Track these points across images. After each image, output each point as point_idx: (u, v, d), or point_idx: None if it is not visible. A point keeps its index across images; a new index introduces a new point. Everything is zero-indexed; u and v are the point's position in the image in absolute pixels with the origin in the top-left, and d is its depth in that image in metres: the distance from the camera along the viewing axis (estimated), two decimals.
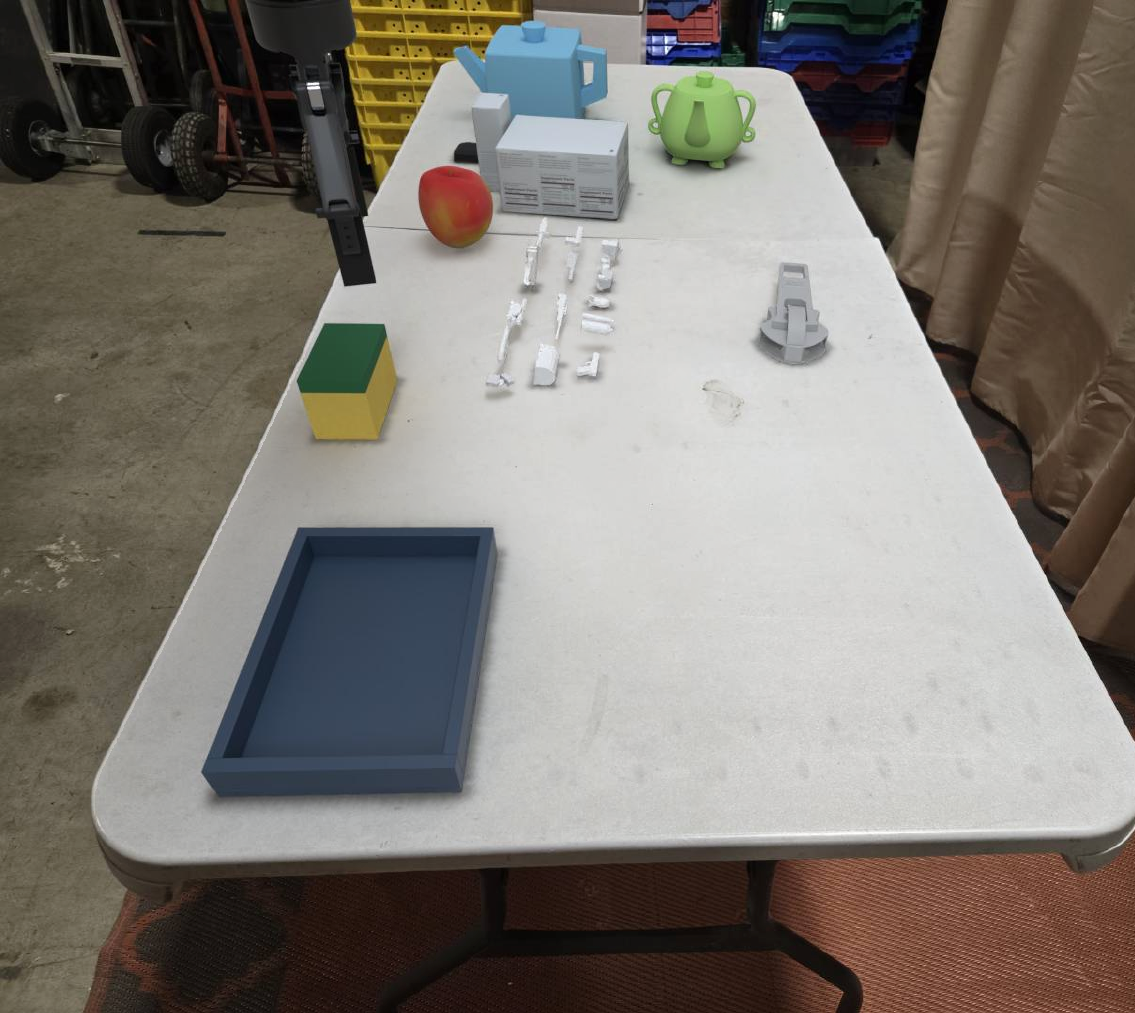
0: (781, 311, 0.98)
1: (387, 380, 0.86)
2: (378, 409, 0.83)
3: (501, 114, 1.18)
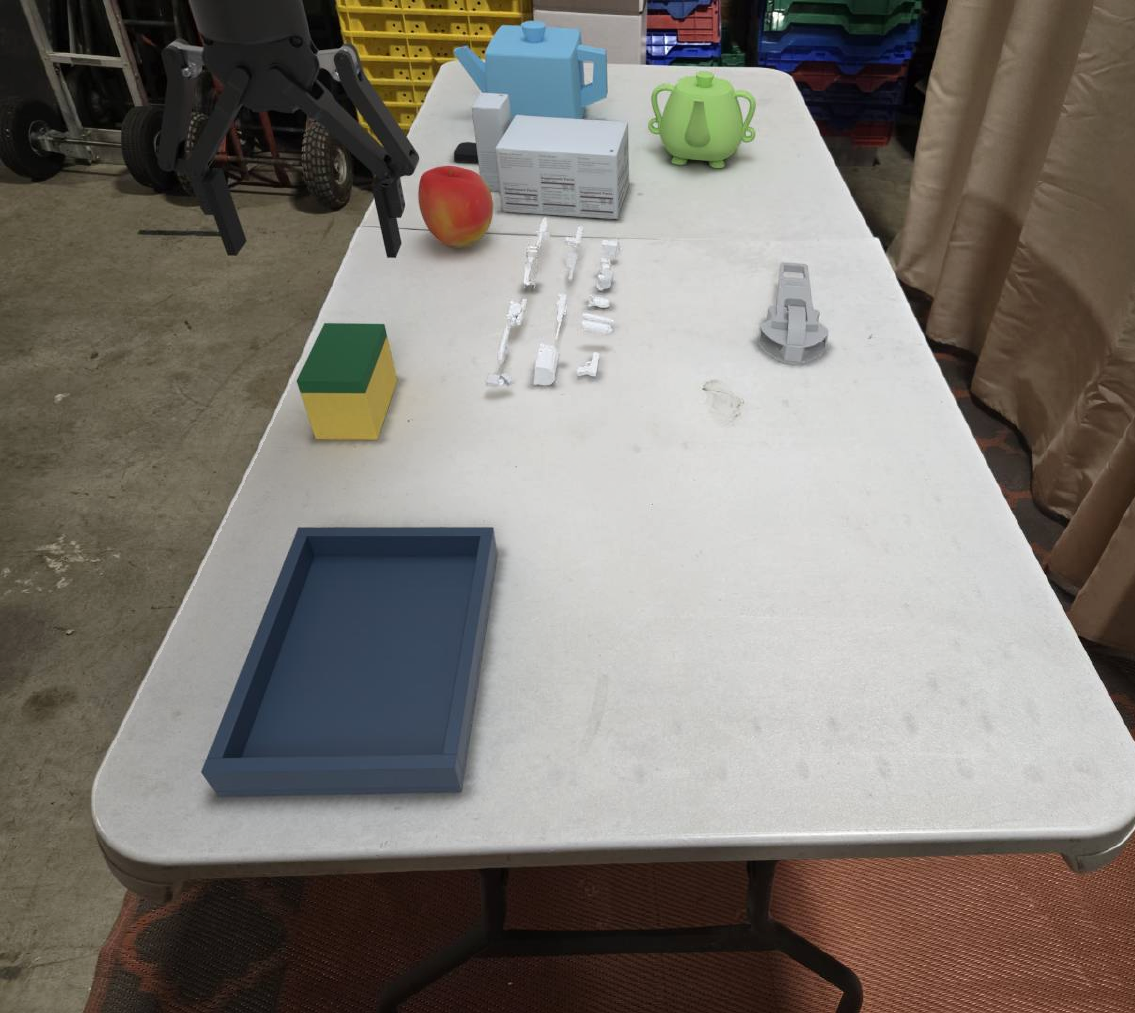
0: (781, 311, 0.98)
1: (387, 380, 0.86)
2: (378, 409, 0.83)
3: (501, 114, 1.18)
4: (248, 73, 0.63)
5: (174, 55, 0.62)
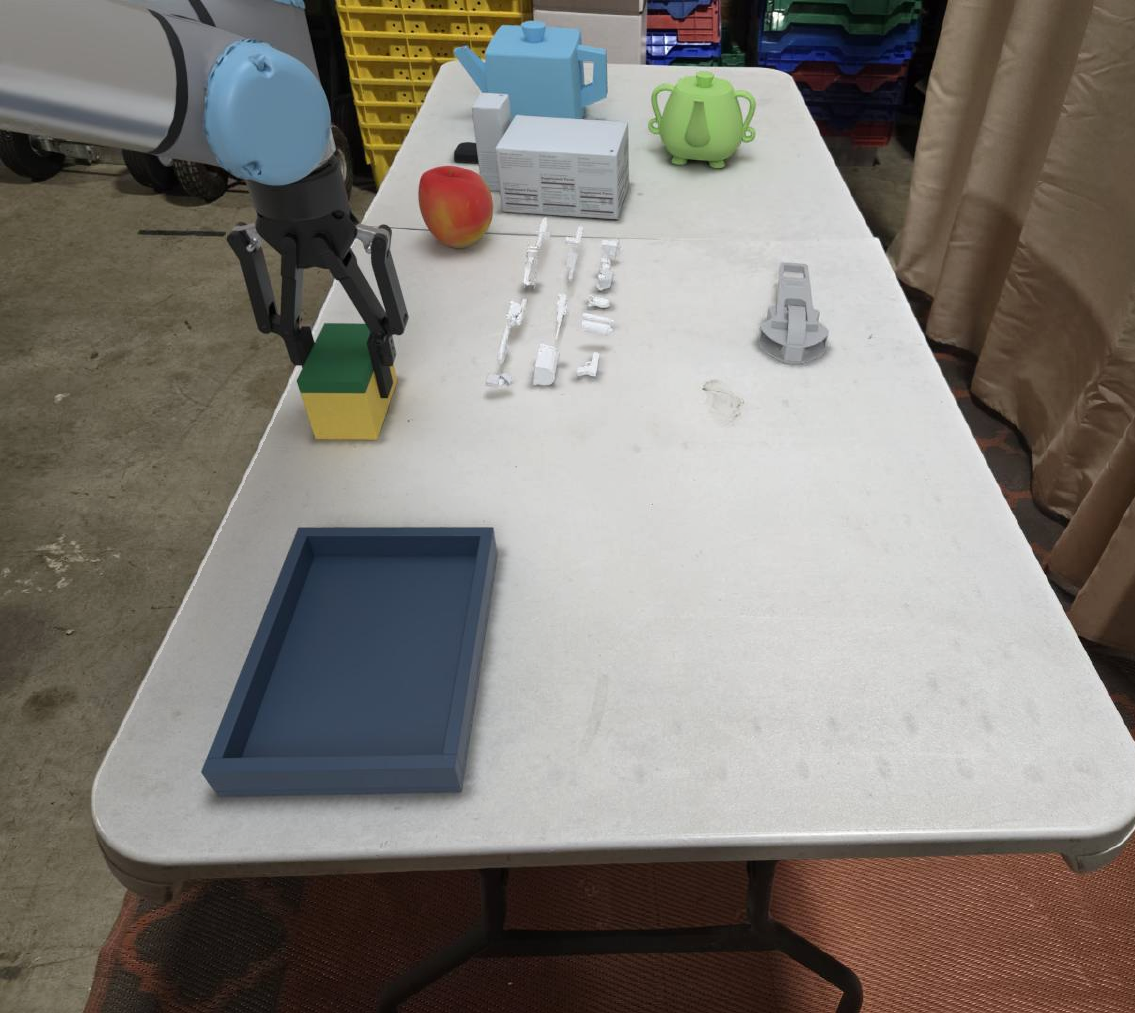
0: (781, 311, 0.98)
1: None
2: (378, 409, 0.83)
3: (501, 114, 1.18)
4: (293, 238, 0.72)
5: (236, 238, 0.72)
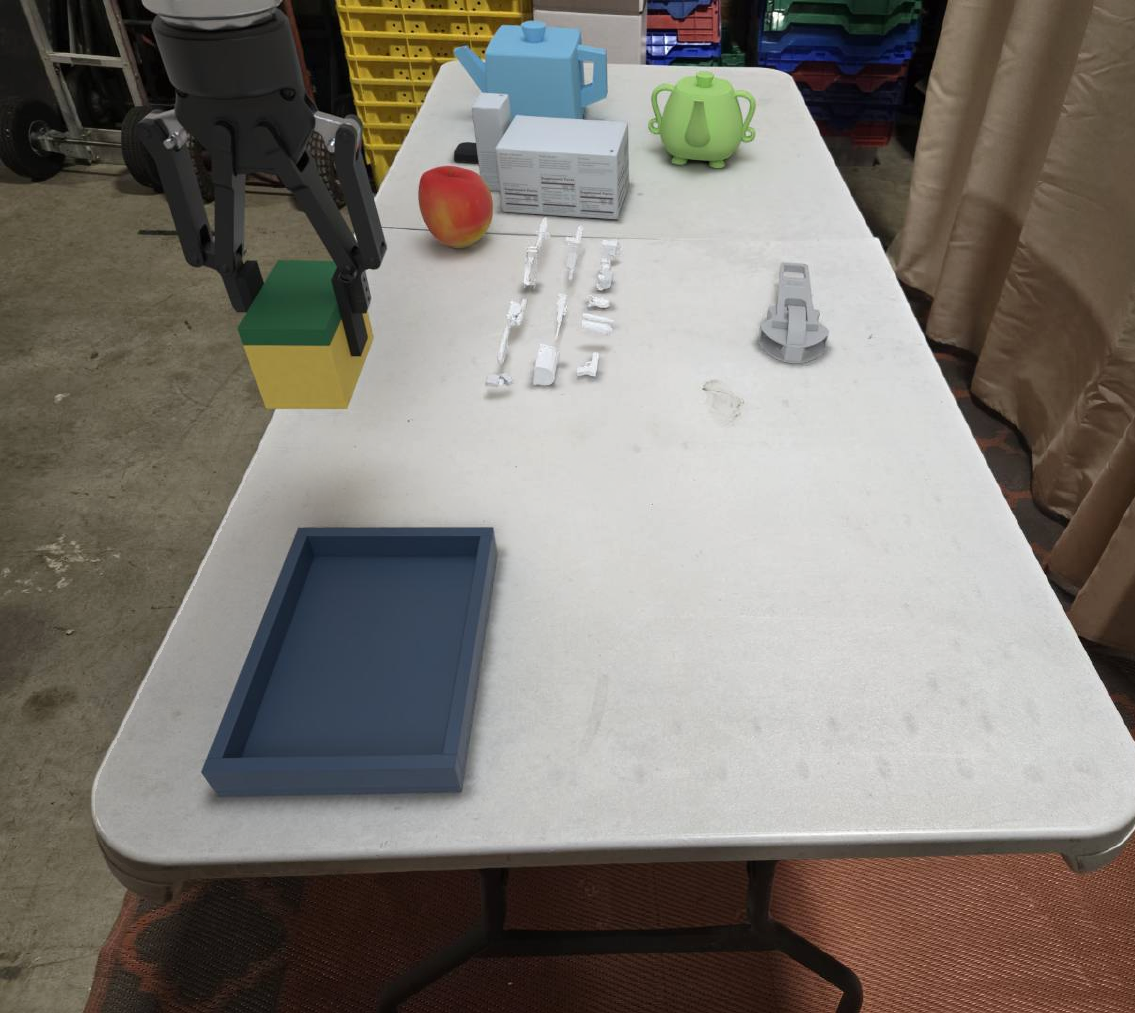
0: (781, 311, 0.98)
1: None
2: (348, 370, 0.64)
3: (501, 114, 1.18)
4: (227, 127, 0.52)
5: (148, 128, 0.53)
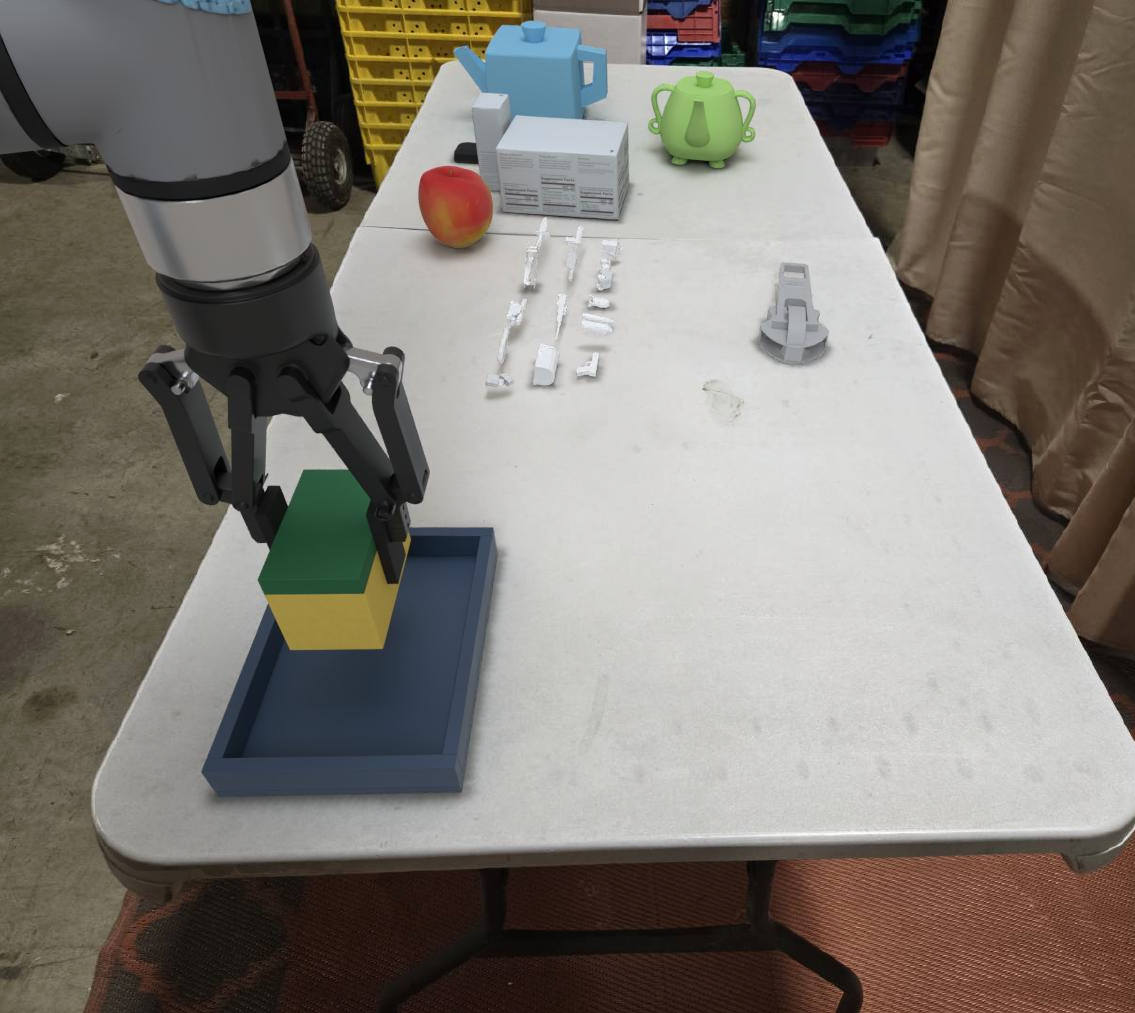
0: (781, 311, 0.98)
1: None
2: (383, 603, 0.56)
3: (501, 114, 1.18)
4: (246, 375, 0.44)
5: (153, 375, 0.44)
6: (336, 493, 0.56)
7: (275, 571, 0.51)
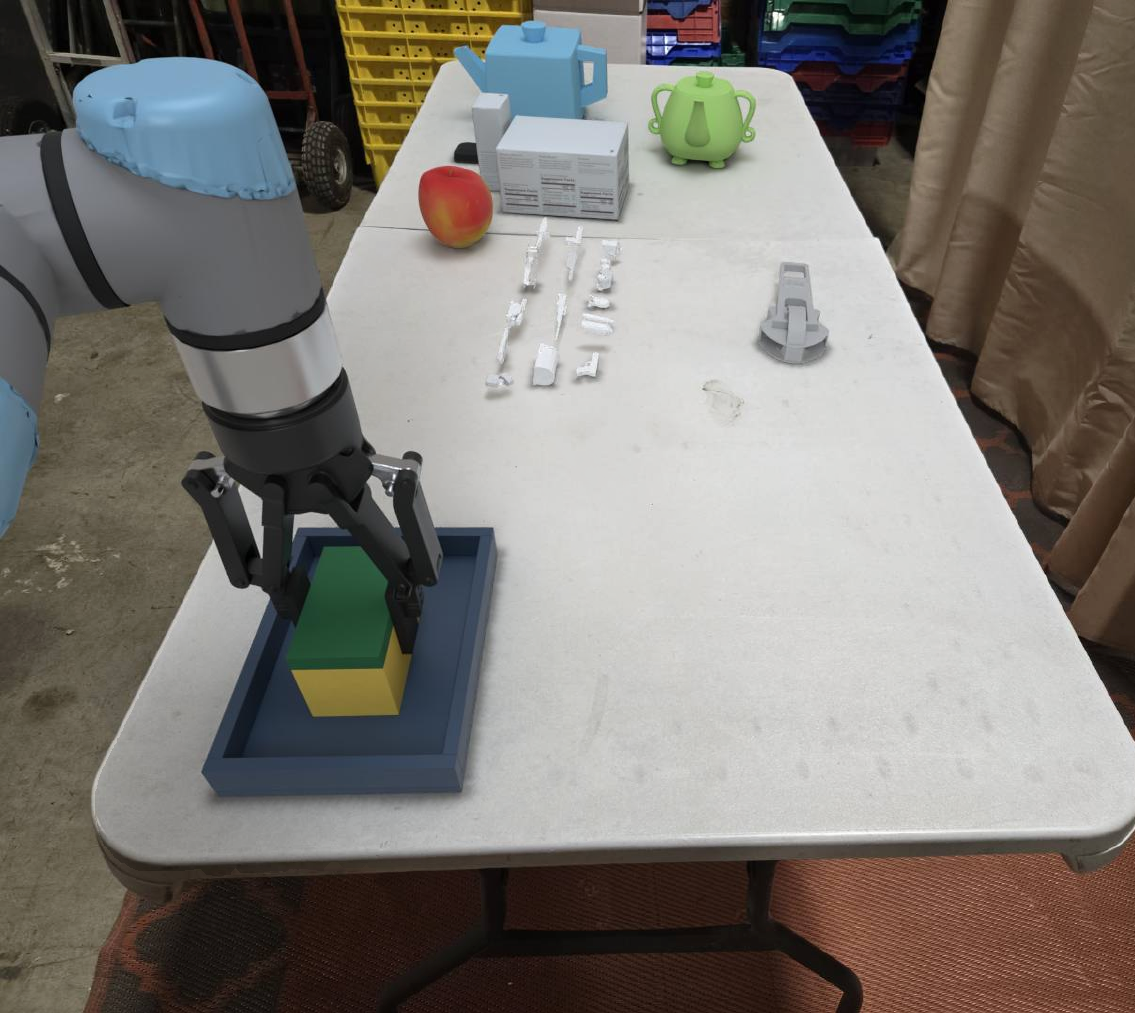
0: (781, 311, 0.98)
1: None
2: (399, 672, 0.60)
3: (501, 114, 1.18)
4: (280, 482, 0.49)
5: (195, 482, 0.49)
6: (355, 570, 0.60)
7: (301, 649, 0.55)
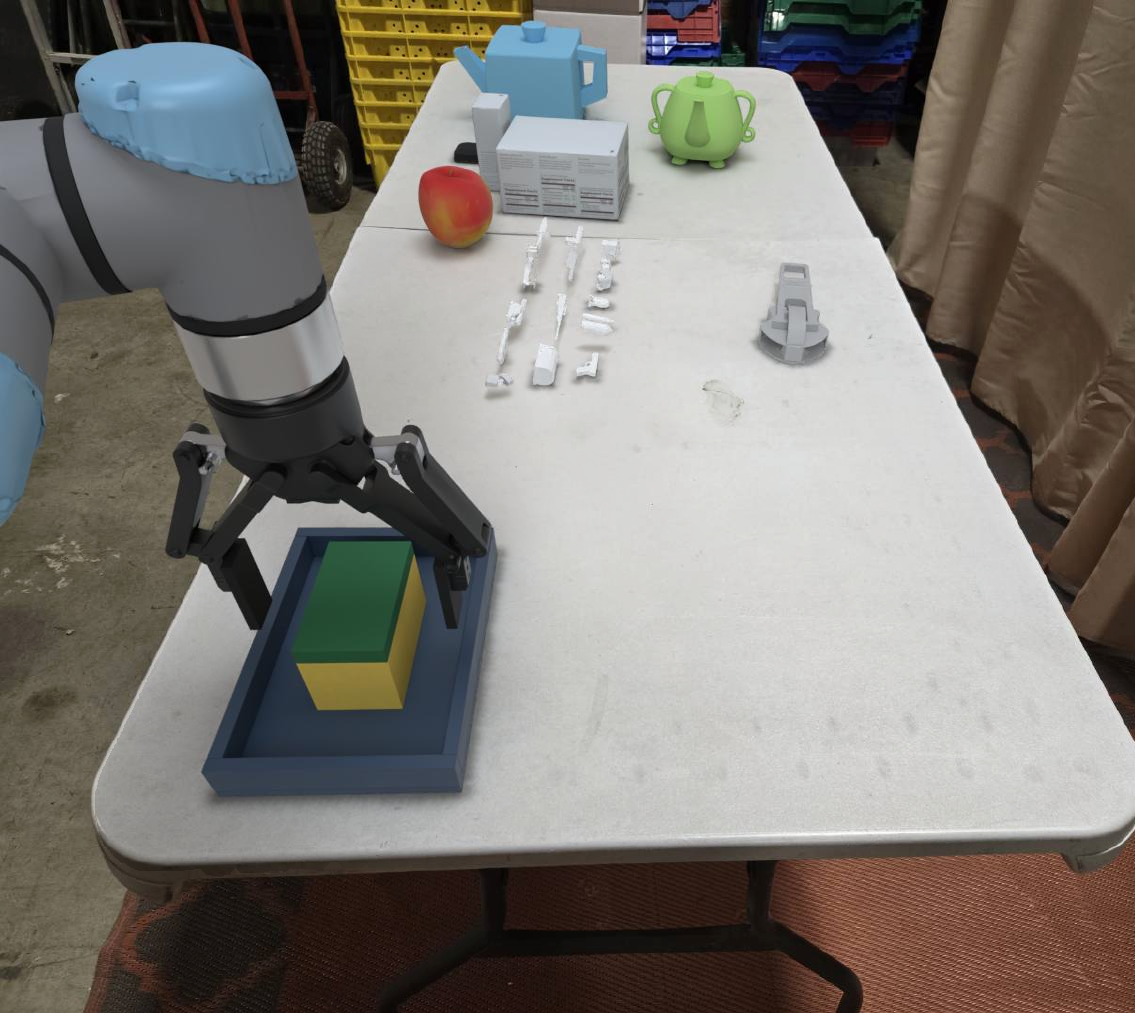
0: (781, 311, 0.98)
1: (414, 614, 0.64)
2: (403, 666, 0.60)
3: (501, 114, 1.18)
4: (284, 474, 0.49)
5: (189, 455, 0.48)
6: (360, 565, 0.61)
7: (306, 643, 0.56)
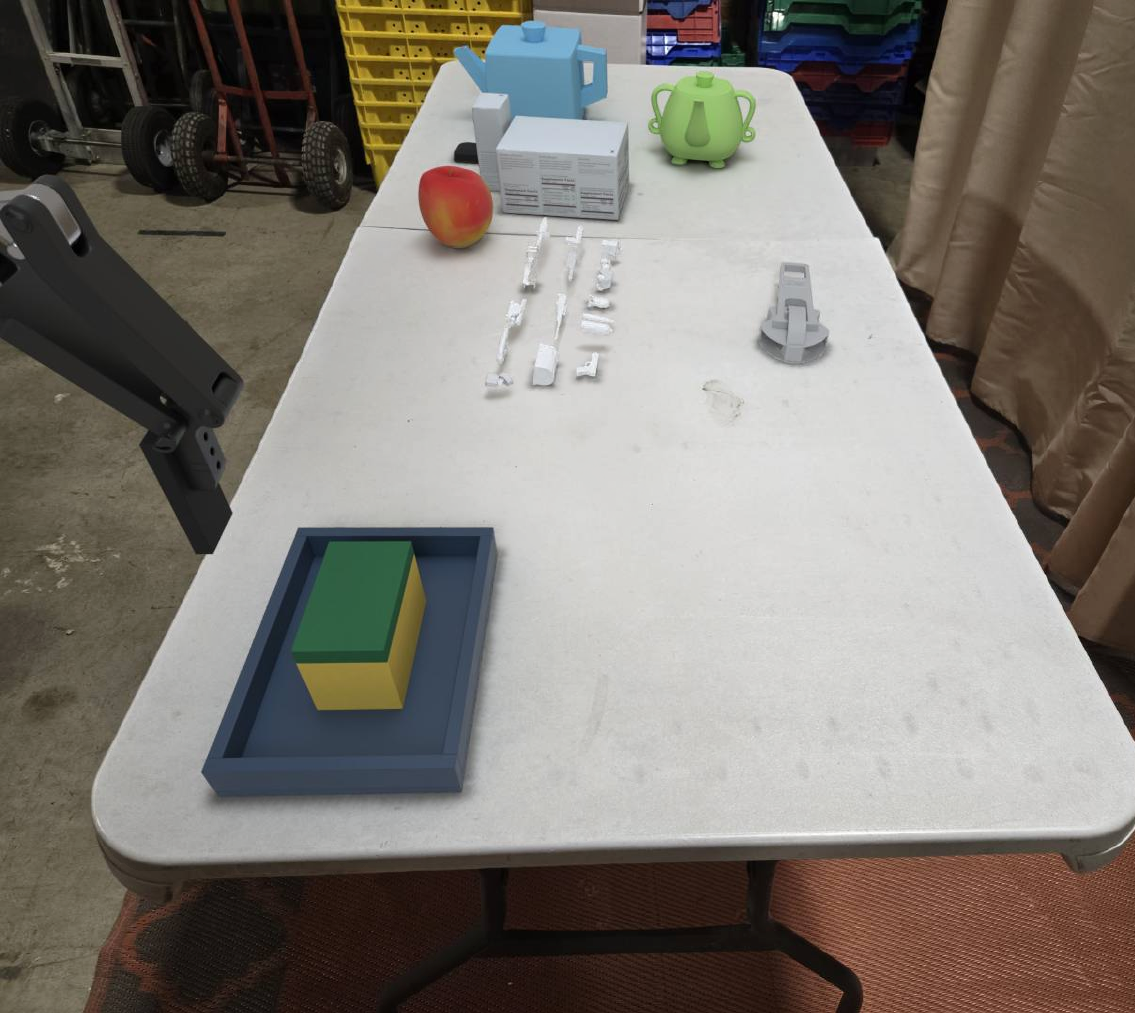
0: (781, 311, 0.98)
1: (414, 614, 0.64)
2: (403, 666, 0.60)
3: (501, 114, 1.18)
4: None
5: None
6: (360, 565, 0.61)
7: (306, 643, 0.56)
